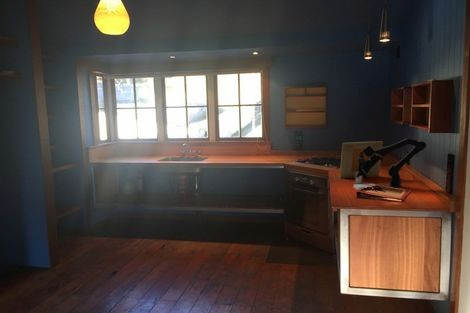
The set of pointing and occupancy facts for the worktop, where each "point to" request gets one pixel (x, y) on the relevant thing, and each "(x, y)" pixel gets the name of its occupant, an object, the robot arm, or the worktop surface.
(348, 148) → the picture frame
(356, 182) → the brown box on plinth
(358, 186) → the display block
